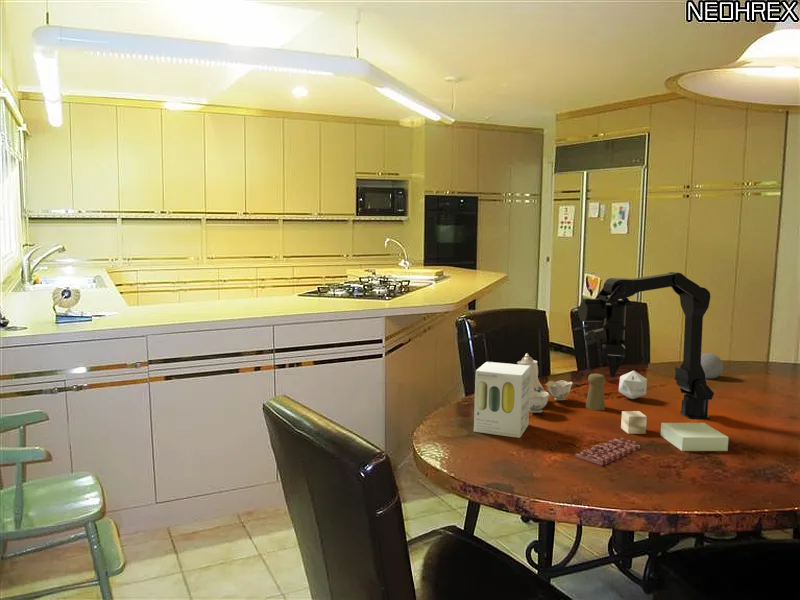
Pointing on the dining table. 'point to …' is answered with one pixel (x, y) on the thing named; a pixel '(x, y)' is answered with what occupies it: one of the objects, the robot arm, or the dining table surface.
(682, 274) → the robot arm
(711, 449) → the sage block
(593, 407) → the cork
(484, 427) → the supplement box
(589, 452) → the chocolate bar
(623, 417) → the birch cube
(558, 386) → the chinaware
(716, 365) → the decorative ball
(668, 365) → the dining table surface
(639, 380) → the die
